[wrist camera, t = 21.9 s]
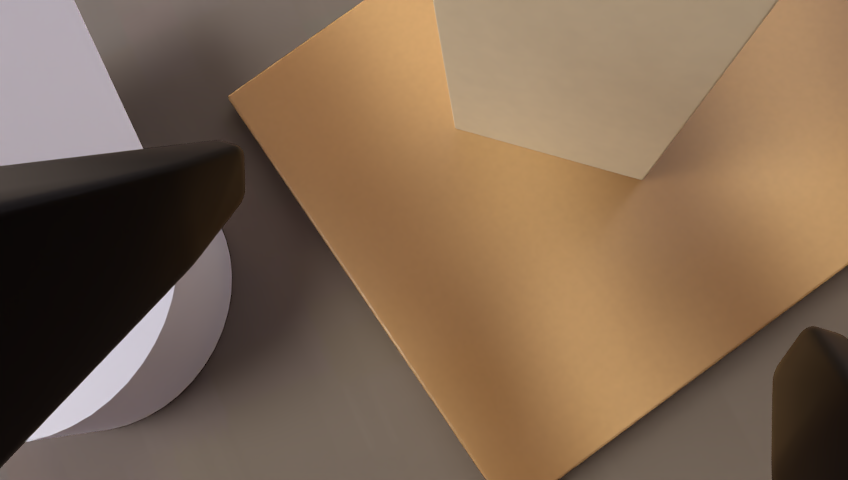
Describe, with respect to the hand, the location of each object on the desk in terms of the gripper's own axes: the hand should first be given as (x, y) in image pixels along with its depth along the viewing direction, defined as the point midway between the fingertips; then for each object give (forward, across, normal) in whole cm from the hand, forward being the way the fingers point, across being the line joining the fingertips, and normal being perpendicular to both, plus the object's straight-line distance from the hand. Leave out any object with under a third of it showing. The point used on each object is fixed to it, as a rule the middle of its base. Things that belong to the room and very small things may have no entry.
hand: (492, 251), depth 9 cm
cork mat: (+12, -1, +1) cm, 12 cm away
